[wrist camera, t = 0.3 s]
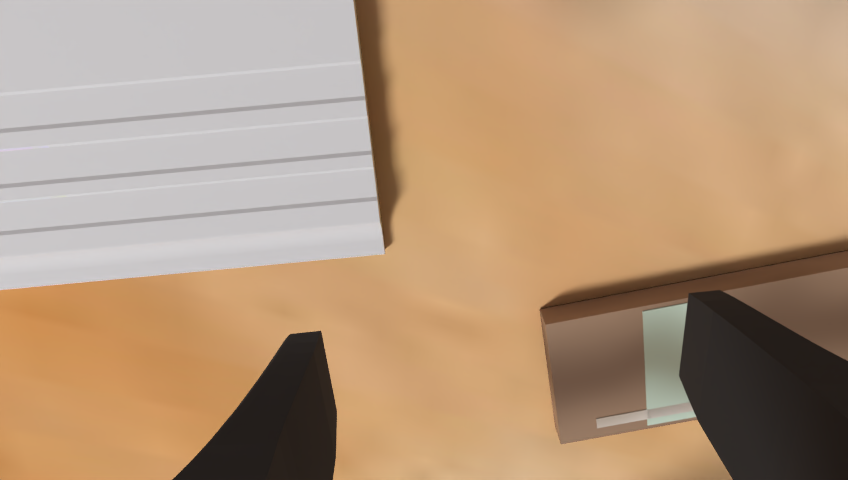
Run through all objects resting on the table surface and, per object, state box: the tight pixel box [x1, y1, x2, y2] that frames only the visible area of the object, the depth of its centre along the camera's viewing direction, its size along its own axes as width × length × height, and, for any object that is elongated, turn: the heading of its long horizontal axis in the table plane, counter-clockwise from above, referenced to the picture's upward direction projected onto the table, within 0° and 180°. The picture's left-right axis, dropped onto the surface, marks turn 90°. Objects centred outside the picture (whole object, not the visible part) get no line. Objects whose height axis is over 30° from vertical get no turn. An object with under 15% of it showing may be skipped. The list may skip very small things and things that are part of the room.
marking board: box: [540, 251, 848, 444], centre depth 25 cm, size 6×20×1 cm, turn 101°
